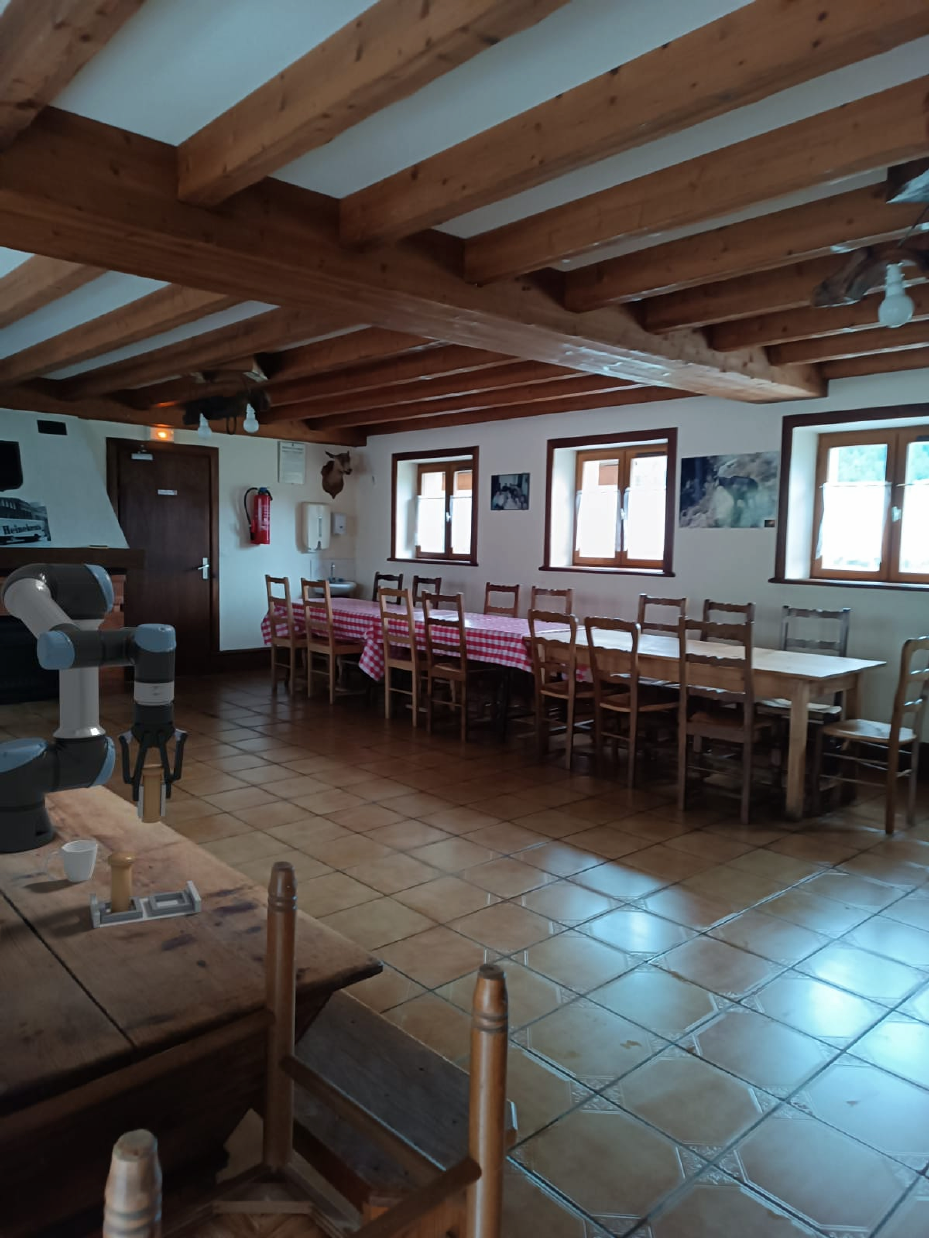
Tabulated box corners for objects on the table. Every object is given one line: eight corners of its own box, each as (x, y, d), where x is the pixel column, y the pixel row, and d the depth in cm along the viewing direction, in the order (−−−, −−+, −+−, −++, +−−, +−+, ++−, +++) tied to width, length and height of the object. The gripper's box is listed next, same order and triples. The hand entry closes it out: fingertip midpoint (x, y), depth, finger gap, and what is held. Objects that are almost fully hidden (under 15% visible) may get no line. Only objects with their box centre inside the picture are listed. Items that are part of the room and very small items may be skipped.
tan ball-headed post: (137, 817, 174) (138, 765, 173) (162, 815, 176) (163, 763, 175) (139, 825, 170) (141, 771, 169) (165, 822, 172) (166, 769, 171)
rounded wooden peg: (105, 909, 163) (106, 853, 162) (132, 905, 166) (133, 850, 165) (107, 919, 159) (109, 862, 158) (135, 915, 161) (136, 859, 160)
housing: (89, 911, 164) (90, 893, 164) (191, 897, 173) (191, 880, 173) (93, 934, 156) (94, 915, 155) (200, 917, 164) (201, 899, 164)
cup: (97, 888, 175) (98, 850, 175) (43, 893, 171) (43, 854, 171) (97, 875, 182) (98, 838, 181) (45, 880, 178) (45, 842, 177)
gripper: (110, 706, 163) (108, 825, 166) (200, 703, 171) (196, 817, 173) (107, 699, 170) (105, 813, 172) (193, 696, 178) (190, 806, 180)
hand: (151, 814), depth 173 cm, fingers closed on tan ball-headed post, 3 cm apart
